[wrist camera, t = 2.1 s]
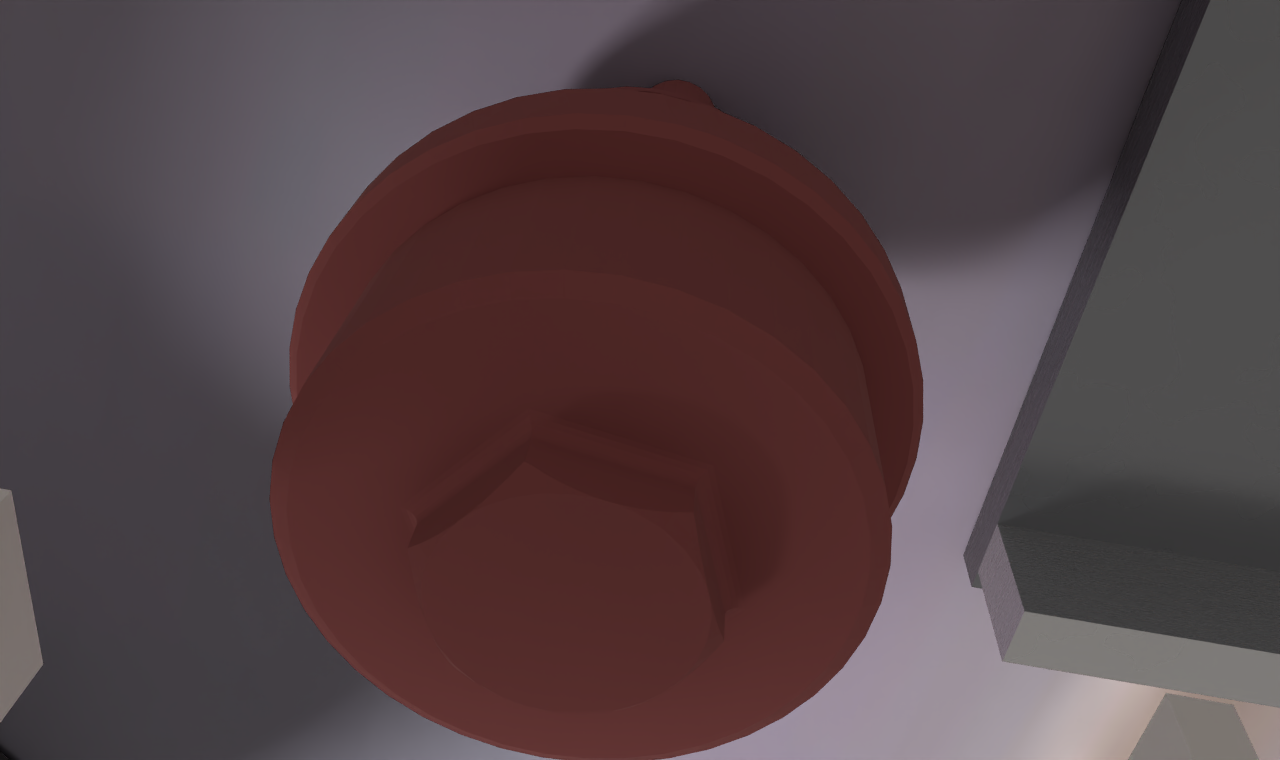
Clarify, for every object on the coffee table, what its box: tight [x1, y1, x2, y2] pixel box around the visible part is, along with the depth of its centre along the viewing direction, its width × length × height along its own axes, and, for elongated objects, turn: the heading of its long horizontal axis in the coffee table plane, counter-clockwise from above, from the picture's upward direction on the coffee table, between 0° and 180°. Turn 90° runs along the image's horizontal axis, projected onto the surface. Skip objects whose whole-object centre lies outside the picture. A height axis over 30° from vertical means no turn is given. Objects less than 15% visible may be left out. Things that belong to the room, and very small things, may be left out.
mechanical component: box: [270, 80, 923, 760], centre depth 19 cm, size 12×10×10 cm
